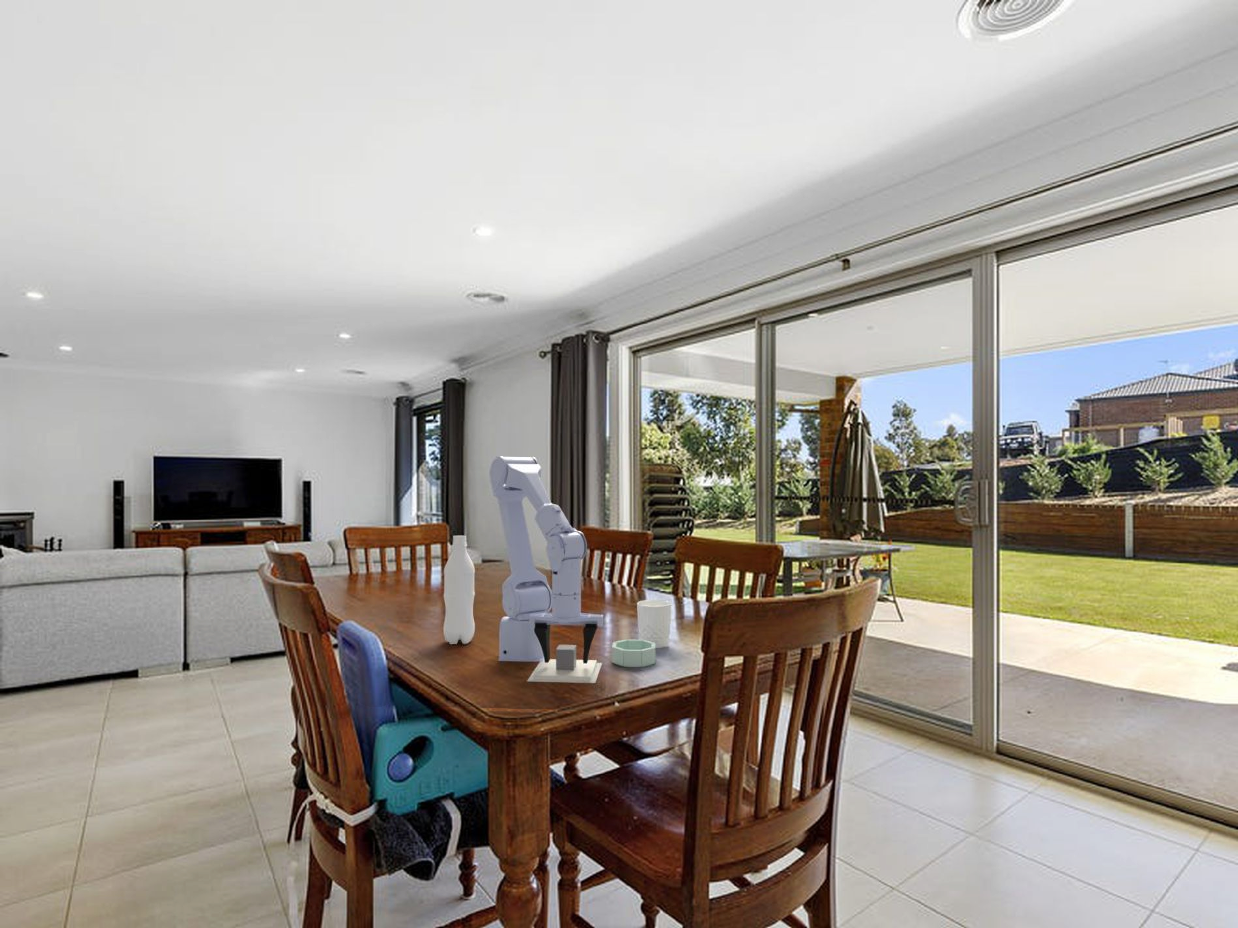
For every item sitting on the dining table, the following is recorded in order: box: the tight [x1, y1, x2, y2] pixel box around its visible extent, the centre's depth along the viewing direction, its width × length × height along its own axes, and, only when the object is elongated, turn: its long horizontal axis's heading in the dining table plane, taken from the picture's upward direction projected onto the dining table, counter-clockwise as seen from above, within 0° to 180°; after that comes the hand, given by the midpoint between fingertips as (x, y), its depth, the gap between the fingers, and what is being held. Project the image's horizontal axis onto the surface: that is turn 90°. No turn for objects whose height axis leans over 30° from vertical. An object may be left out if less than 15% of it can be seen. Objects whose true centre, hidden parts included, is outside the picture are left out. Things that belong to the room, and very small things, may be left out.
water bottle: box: [442, 535, 476, 645], centre depth 154 cm, size 7×7×25 cm
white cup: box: [636, 599, 672, 649], centre depth 150 cm, size 8×8×10 cm
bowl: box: [611, 639, 656, 668], centre depth 137 cm, size 9×9×4 cm
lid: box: [533, 644, 598, 681], centre depth 129 cm, size 11×11×5 cm
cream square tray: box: [526, 661, 603, 684], centre depth 129 cm, size 13×13×1 cm
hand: (566, 661), depth 129 cm, fingers open, 7 cm apart
